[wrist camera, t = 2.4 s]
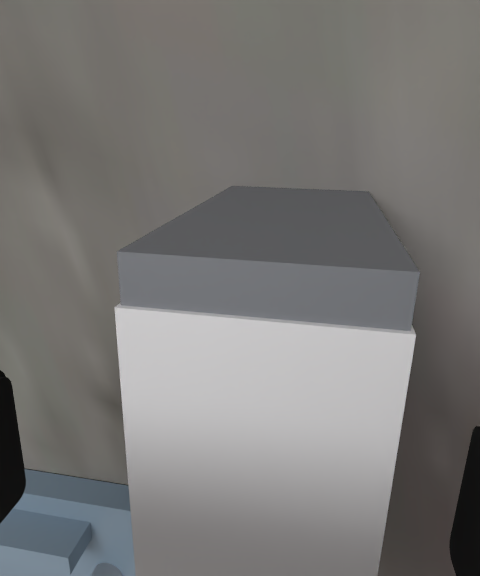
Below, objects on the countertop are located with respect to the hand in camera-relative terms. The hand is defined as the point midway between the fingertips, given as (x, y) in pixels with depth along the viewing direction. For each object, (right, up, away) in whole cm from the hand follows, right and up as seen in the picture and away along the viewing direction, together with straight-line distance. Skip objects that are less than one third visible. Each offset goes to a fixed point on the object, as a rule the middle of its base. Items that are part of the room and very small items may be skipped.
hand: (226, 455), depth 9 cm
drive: (+2, +2, +6) cm, 6 cm away
